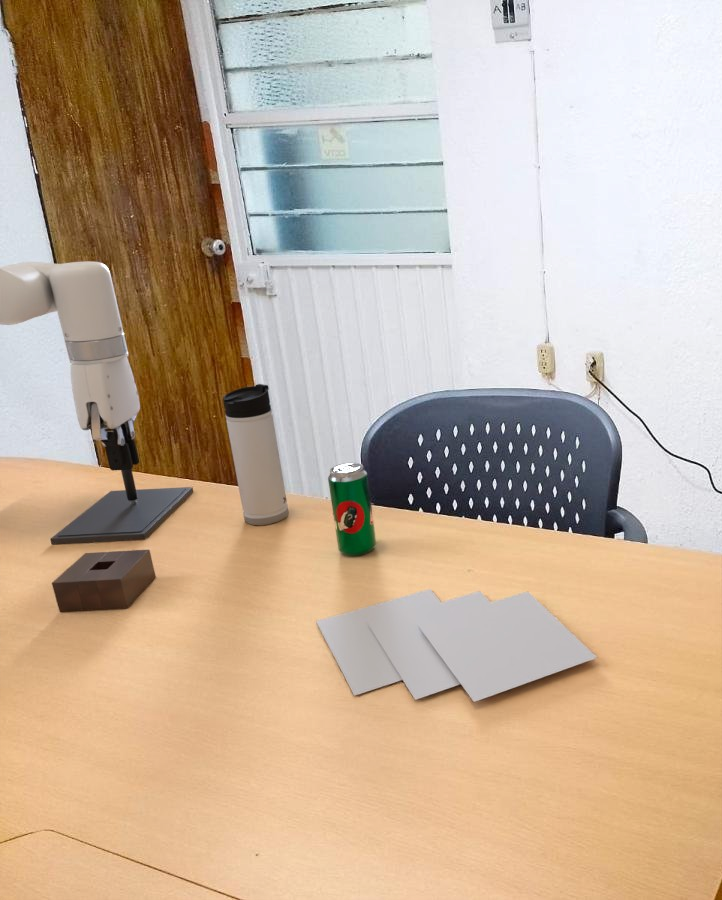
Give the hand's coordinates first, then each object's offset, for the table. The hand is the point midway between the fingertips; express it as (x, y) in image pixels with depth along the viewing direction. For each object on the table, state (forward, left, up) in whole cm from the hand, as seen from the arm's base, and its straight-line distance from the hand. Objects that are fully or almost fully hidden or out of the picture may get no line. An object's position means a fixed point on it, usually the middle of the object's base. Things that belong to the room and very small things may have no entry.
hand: (125, 466), depth 127 cm
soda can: (+38, -18, -8) cm, 43 cm away
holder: (+9, -27, -7) cm, 30 cm away
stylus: (0, 0, -6) cm, 6 cm away
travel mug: (+22, -5, -8) cm, 24 cm away
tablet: (0, -2, -7) cm, 8 cm away
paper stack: (+53, -43, -7) cm, 69 cm away
